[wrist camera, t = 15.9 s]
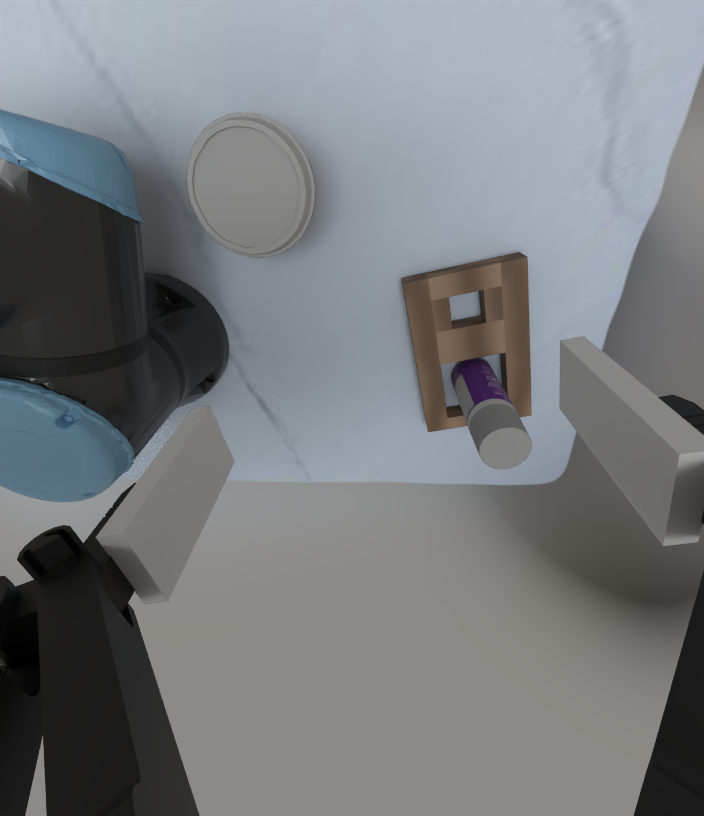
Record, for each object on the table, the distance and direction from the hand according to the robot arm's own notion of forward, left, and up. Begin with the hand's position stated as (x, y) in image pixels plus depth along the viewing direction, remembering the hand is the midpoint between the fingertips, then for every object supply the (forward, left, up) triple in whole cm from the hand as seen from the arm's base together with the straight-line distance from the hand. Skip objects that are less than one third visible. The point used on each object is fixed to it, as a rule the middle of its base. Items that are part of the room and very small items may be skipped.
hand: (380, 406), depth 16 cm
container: (+8, -16, -32) cm, 36 cm away
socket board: (+8, -12, -32) cm, 35 cm away
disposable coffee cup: (-8, +8, -32) cm, 34 cm away
